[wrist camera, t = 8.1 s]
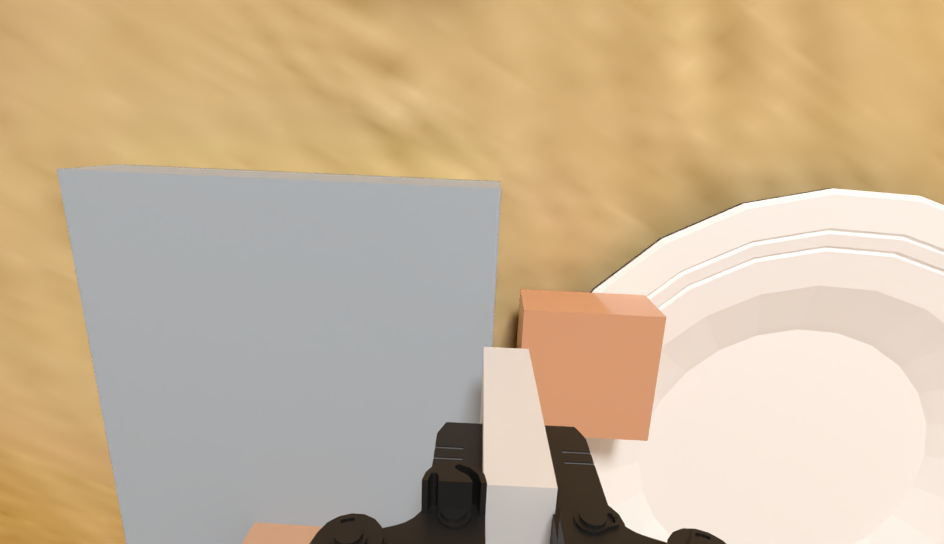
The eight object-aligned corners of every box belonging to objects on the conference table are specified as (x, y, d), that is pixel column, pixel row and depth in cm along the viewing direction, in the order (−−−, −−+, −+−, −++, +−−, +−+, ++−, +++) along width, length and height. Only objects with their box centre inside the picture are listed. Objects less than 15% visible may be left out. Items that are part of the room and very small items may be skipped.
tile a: (513, 399, 21) (515, 433, 18) (520, 289, 20) (524, 310, 17) (629, 406, 21) (647, 441, 18) (645, 295, 19) (666, 316, 17)
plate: (983, 645, 26) (1020, 684, 24) (515, 645, 27) (517, 682, 25) (1127, 169, 19) (1194, 172, 17) (500, 198, 20) (501, 204, 19)
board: (186, 608, 27) (148, 665, 24) (118, 164, 20) (56, 169, 17) (474, 627, 26) (473, 687, 23) (499, 181, 20) (501, 188, 17)
